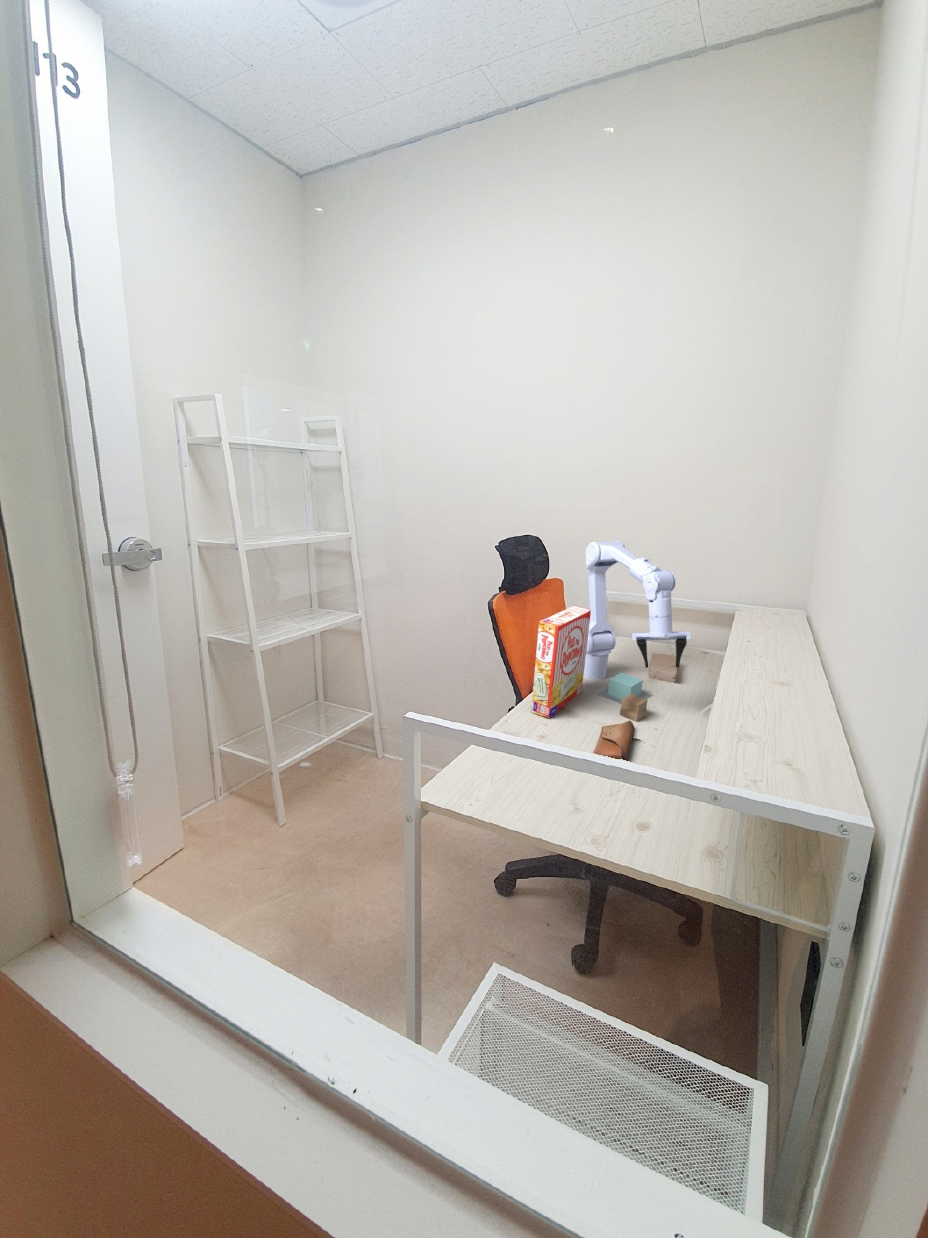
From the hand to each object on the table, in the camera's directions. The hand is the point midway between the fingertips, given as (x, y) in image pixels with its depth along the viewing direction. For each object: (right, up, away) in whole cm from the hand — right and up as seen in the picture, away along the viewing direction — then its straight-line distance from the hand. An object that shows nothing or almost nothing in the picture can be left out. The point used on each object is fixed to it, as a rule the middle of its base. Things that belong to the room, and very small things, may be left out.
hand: (662, 667), depth 142 cm
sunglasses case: (-15, -20, -8) cm, 26 cm away
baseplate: (-5, -11, +18) cm, 21 cm away
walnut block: (-6, -15, +5) cm, 17 cm away
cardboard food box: (-26, -12, +13) cm, 31 cm away
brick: (+13, -6, +35) cm, 38 cm away
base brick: (-5, -10, +17) cm, 20 cm away
